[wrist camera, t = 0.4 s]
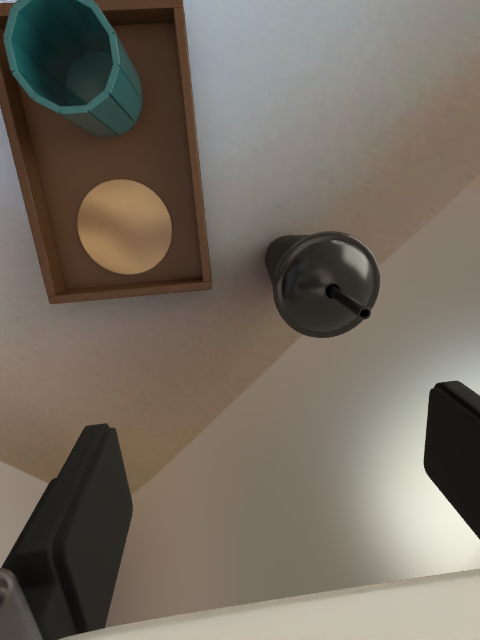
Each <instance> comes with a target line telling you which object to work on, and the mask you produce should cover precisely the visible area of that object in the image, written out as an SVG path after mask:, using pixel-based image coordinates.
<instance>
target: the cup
mask: <svg viewBox="0 0 480 640" xmlns="http://www.w3.org/2000/svg"><path fill="white" fill-rule="evenodd" d="M12 6H13V8H12V7H11V8H10V12H9V16H8V20H7V24H6V28H5V31H4V35H3V37H4V38H5V39H3V41H4V45H5V49H6V53H7V58H8V62H9V66H10V70H11V72H13V73H12V74H13V76H14V77H15V78H16V80H17V81H18V82H19V84H20V85H21V86H22V87H23V89H24V90H25V91H26V93H27V94H28V95H29V97H30V98H31V99H33V101H35V102H36V103H38V104H40V105H42V106H43V107H45V108H47V109H48V110H50V111H52V112H53V113H55V114H57V115H58V116H60V117H62V118H64V119H65V120H67V121H69V122H70V123H72V124H74V125H75V126H77V127H79V128H81V129H83V130H85V131H87V132H89V133H90V134H93V135H95V136H97V137H103V138H113V137H118V136H121V135H123V134H125V133H126V132H128V131H129V130H130V129H131V128H133V126H134V125H135V124H136V122H137V121H138V119H139V117H140V115H141V111H142V107H143V91H142V86H141V82H140V78H139V76H138V74H137V72H136V70H135V68H134V66H133V64H132V63H131V61H130V59H129V57H128V55H127V53H126V51H125V50H124V48H123V46H122V44H121V42H120V40H119V38H118V37H117V35H116V33H115V31H114V29H113V28H112V26H111V25H110V23H109V22H108V20H107V19H106V17H105V16H104V14H103V13H102V11H101V10H100V8H99V7H98V5H97V4H96V3H95V2H94V1H93V0H17V1H16V2H15V3H14V4H13V5H12Z"/></svg>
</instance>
